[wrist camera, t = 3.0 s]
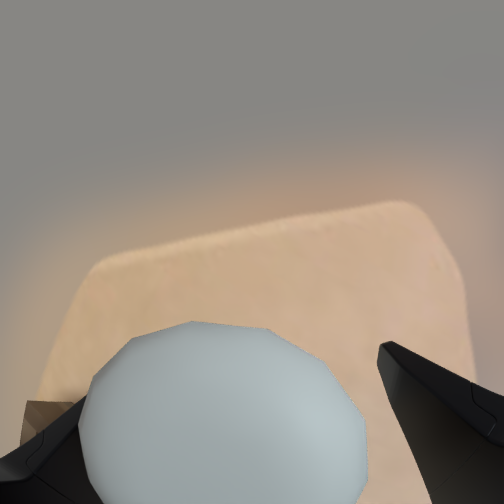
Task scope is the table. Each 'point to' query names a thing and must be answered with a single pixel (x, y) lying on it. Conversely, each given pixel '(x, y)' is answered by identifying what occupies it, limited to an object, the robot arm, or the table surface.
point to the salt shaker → (221, 422)
